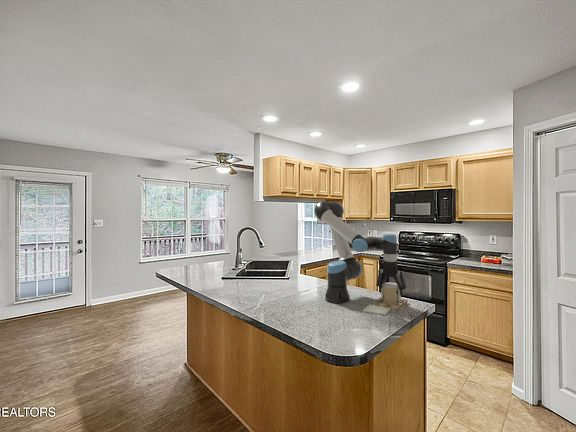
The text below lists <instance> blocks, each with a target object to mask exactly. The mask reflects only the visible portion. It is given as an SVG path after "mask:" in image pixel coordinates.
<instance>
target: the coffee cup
mask: <svg viewBox="0 0 576 432" xmlns="http://www.w3.org/2000/svg"><path fill="white" fill-rule="evenodd" d="M382 287H383V296H384V300H383V304H390V305H397V306H399V302H398V290H399V287H398V285H397V283H396V282H386V281H385V282H384V283H383V285H382Z"/></svg>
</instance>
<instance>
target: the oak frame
mask: <svg viewBox="0 0 576 432" xmlns="http://www.w3.org/2000/svg"><path fill="white" fill-rule="evenodd" d="M382 302H383V303H382ZM400 303H401V304H400ZM398 304H400V305H398V306H397V305H390V304H384V298H383V299H381V296H380V297H379V298H377V300H375V301H374V304H373V305H377V306H384V307H390V308H391V310H396V311H397V310H399V311H403V310H404V309H405V307H406V306H407V305H406V304H408V299H403V298H401V301H398Z"/></svg>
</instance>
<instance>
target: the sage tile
mask: <svg viewBox="0 0 576 432" xmlns="http://www.w3.org/2000/svg"><path fill="white" fill-rule="evenodd" d="M391 310H392V309H391V308H390V307H384V306H377V305H374V304H371V303H370V304H369V305H367V306H366V307H365V308H364V309H363V310H362V312H363V313H369V314H375V315H380V316H387V314H388V313H389V312H390V311H391Z"/></svg>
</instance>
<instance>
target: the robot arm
mask: <svg viewBox="0 0 576 432" xmlns="http://www.w3.org/2000/svg"><path fill="white" fill-rule="evenodd" d="M313 211H314V216H315V217H316V218H317V219H318V220H319V221H321V222H322V223H325V224H327V226H329V228H330V231H331V235H332V237H333V241H334V245H335V247H336V251H337V254H338V257H339V259H338V260H334V261H331V262H329V263H328V264H327V269H326V271H327V272H326V273H327V289H326V292H325V294H324V295H325V300H324V301H326V302H328V303H332V304H333V303H334V304H344V303H348V302H350V301H351V296H350V294H349V290H348V285H347V282H348V281H351V280H355V279H357V278H359V277H360V276H361V275H362V273H363V266H362V264H361V262H360V261H359V260H357V258H356V256H355V255H353V254H352V250H351V247H352V249H353V250H354V251H355V252H357V253H363V252H364V253H365V252H370V251H373V250H375V251H376V250H378V251H383V252H382V253H383V254H382V255H383V256H382V257H383V258H382V259H383V269H380V268H379V269H378V270H377V272H378V274H377V279H376V286H377V287H378V288H379V293H380V294H381V296H380V297H381V299H383V298H384V296H383V286H382V285H383V283H386V281H387V278H393V279H394V280H395V283H397V285H398V287H399V290H398V301H401V299H402V296H403V293H404V292H403V290H405V289H406V288H407V285H406V282H405V278H404V271H403V270H401V271H400V270H398V250H397V249H398V247H397V246H398V244H397V243H398V240H397V235H396V234H394V233H385V234H382V237H381V236H380V237H377V236H366V237H364V236H363V235H361V234H360V233H359V232H358V231H356V230H355V229H354V228H352V227H351V226H350V225H348V224H347V223H346V222H344V221H343V219H344V217H343V215H344V213H345V212H344V211H345V210H344V207H343V205H342V204H341V203H340V202H338V201H328V200H327V201H326V200H325V201H319V202H317V204H316V205H315V207H314V209H313ZM349 243H350V244H351V247H350V244H349ZM383 273H384V276H383V278H382V274H383ZM398 275H399V277H400V280H399V278H398ZM381 279H382V280H381Z"/></svg>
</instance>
